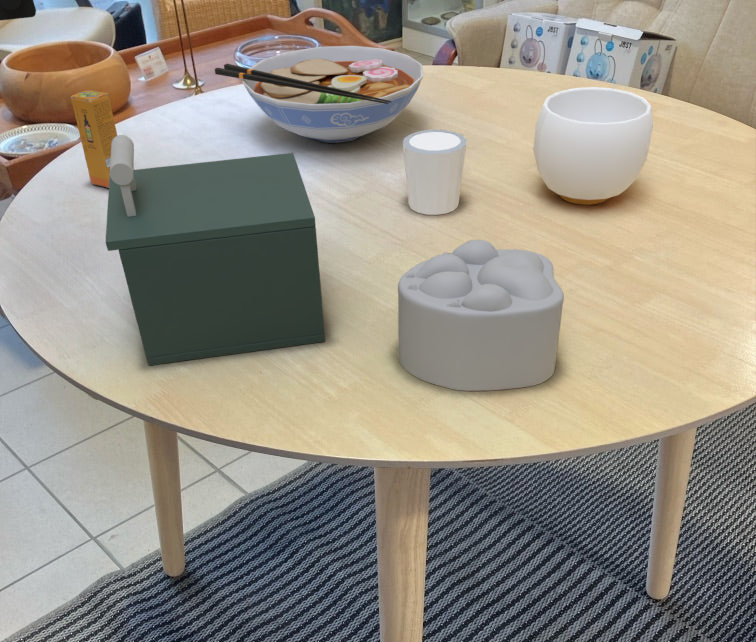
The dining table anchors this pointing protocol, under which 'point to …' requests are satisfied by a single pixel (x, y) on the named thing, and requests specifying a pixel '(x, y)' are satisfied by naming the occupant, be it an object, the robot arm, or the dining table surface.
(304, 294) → the chest
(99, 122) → the supplement box
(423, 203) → the shot glass
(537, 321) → the lumpy-topped squat cylinder
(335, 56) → the ramen bowl
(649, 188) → the dining table surface
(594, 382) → the dining table surface
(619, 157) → the cup
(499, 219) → the dining table surface
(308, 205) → the lid
